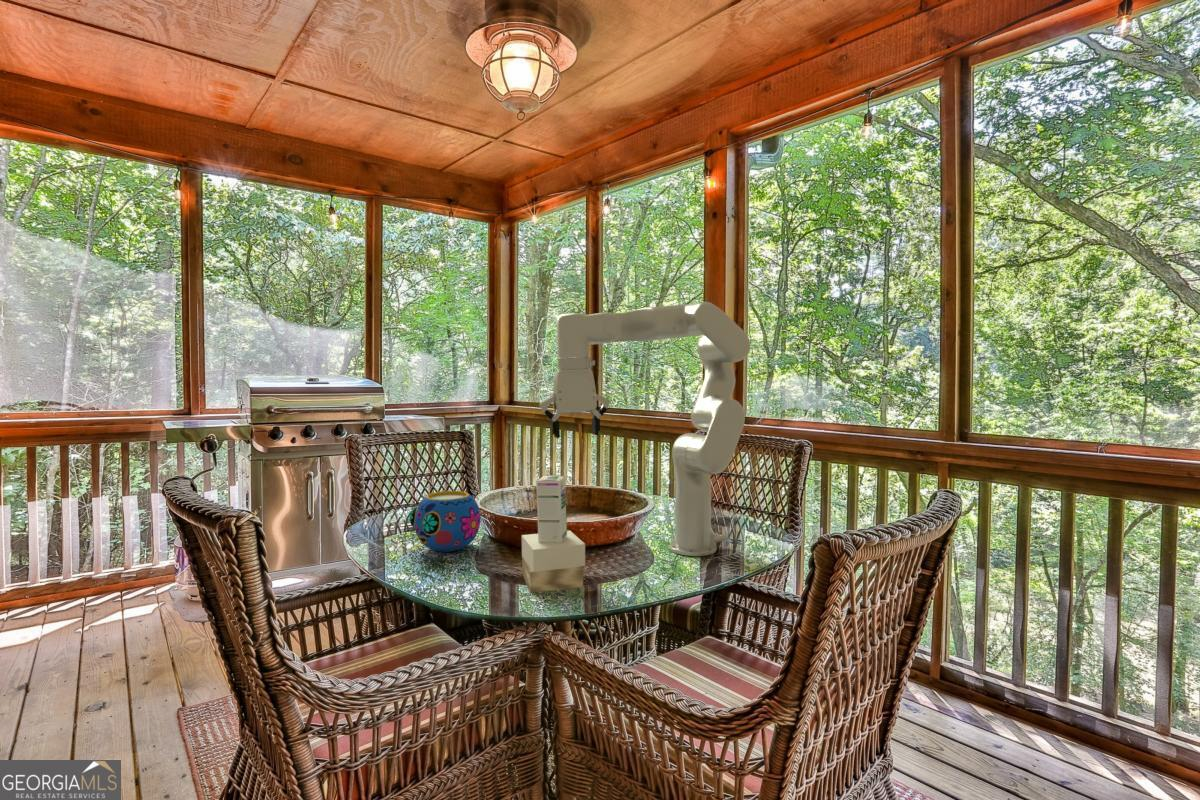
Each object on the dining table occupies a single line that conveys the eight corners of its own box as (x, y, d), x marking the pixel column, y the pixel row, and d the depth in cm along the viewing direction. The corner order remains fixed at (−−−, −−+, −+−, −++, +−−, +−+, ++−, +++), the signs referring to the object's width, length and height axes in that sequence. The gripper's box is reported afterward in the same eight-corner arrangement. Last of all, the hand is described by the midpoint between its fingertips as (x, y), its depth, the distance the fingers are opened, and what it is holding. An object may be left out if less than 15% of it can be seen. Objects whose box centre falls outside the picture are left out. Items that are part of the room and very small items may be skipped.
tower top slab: (569, 550, 146) (569, 530, 145) (585, 565, 134) (585, 544, 134) (521, 555, 142) (521, 535, 141) (533, 572, 130) (533, 549, 130)
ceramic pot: (403, 548, 163) (402, 494, 162) (461, 536, 174) (461, 485, 174) (432, 564, 150) (431, 505, 149) (493, 549, 161) (492, 495, 161)
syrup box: (562, 543, 134) (561, 480, 134) (537, 542, 135) (535, 479, 134) (567, 536, 140) (566, 475, 139) (543, 535, 141) (541, 475, 140)
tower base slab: (571, 570, 146) (570, 550, 145) (583, 588, 134) (583, 566, 134) (522, 575, 142) (522, 555, 142) (530, 594, 131) (530, 571, 130)
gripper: (603, 364, 149) (605, 431, 150) (535, 366, 144) (538, 436, 145) (612, 364, 141) (614, 435, 143) (541, 366, 137) (544, 440, 138)
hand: (576, 435), depth 144 cm, fingers open, 9 cm apart
